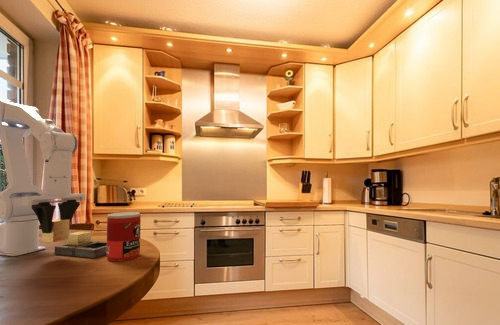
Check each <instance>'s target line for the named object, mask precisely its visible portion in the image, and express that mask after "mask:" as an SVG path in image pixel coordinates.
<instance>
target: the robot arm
mask: <svg viewBox="0 0 500 325" xmlns="http://www.w3.org/2000/svg"><path fill="white" fill-rule="evenodd" d="M31 135H32V136H33V137H34V138H35V139H36V140H37V141H39V148H40V150H41V159H42V160H44V165H43V167H44V169H43V188H40V187H38V186H36V185H35V184H33V183H32V178H31V175H30V169H29V165H28V159H27V155H26V149H25V145H24V144H25V143H24V139H23V138H25V137H28V136H31ZM0 145H1V150H2V155H3V160H4V161H3V162H4V168H5V173H6V177H7V183H8V187H7V188H5V189H4V190H2V191H1V192H0V220H2V223H1V224H0V256H9V257H17V256H22V255H25V254H30V253H33V252H39V251H42V250H45V249H47V247H46V246H40V245H39V236H40V232H39V231H40V229H41V234H42V233H51V229H52V220H53V218H54V212H55V209H56V207H58V211H59V219H70V222H69V227H70V226H71V222H72V220H73V218H74V215H75V213H76V211H77V210H78V208H79V207H80V204H81V203H80V202H81V201H86V193H71V192H72V168H73V166H72V165H73V163H72V162H73V155H74V154H75V153H76V152H77V149H78V146H79V144H78V137H77V136H76V135H75V133H71V132H68V133H67V132H64V130H63V129H62V128H61V127H59V126H58V125H56V124H55V123H54V120H52V119H49V118H42V116H40V109H38V108H37V107H36V106H33V105H32V106H31V105H30V106H29V105H24V104H20V103H16V102H15V103H14V102H10V101H6V100H2V99H0ZM56 203H57V206H56ZM53 204H55V205H53Z"/></svg>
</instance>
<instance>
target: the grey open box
mask: <svg viewBox="0 0 500 325" xmlns="http://www.w3.org/2000/svg"><path fill="white" fill-rule="evenodd" d="M91 238H92V232H91V231H81V230H80V231H75V232H69V239H66V243H63V244H59V245H56V246H54V255H61V256H70V257H80V258H89V259H96V258H99V257H102V256H105V255H107V241H102V240H101V241H100V240H92V239H91Z"/></svg>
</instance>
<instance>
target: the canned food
mask: <svg viewBox="0 0 500 325" xmlns="http://www.w3.org/2000/svg"><path fill="white" fill-rule="evenodd" d="M141 221H142V220H141V212H139V211H137V212H136V211H122V212H121V211H120V212H114V213H108V214H107V220H106V242H107V254H106V257H107V260H108V261H111V262H123V261H124V262H125V261H129V260H130V261H131V260H133V259H136V258H137V257H139V256H140V253H141V223H142V222H141Z"/></svg>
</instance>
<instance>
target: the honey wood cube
mask: <svg viewBox="0 0 500 325" xmlns="http://www.w3.org/2000/svg"><path fill="white" fill-rule="evenodd" d="M69 222H70V219H60V218H54V219H53V218H52V229H51V233H42V232H41V242H44V243H45V242H46V243H47V242H48V243H55V242H60V241H61V242H62V241H65V240H66V241H67V239H69V234H70V226H69Z"/></svg>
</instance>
